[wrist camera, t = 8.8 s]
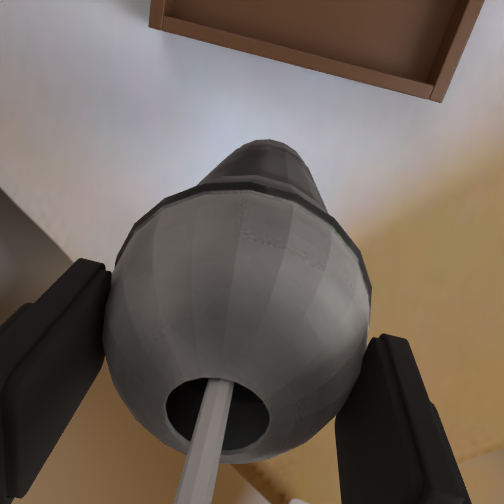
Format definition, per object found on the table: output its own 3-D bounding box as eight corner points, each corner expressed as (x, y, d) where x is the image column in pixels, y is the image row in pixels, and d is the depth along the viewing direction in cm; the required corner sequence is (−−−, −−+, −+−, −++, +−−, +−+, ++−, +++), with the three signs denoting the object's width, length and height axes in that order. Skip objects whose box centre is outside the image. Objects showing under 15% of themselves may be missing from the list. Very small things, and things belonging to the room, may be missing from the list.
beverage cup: (194, 237, 24) (-97, 811, 6) (198, 102, 21) (-402, 499, 3) (323, 253, 24) (408, 903, 6) (348, 118, 20) (719, 673, 3)
